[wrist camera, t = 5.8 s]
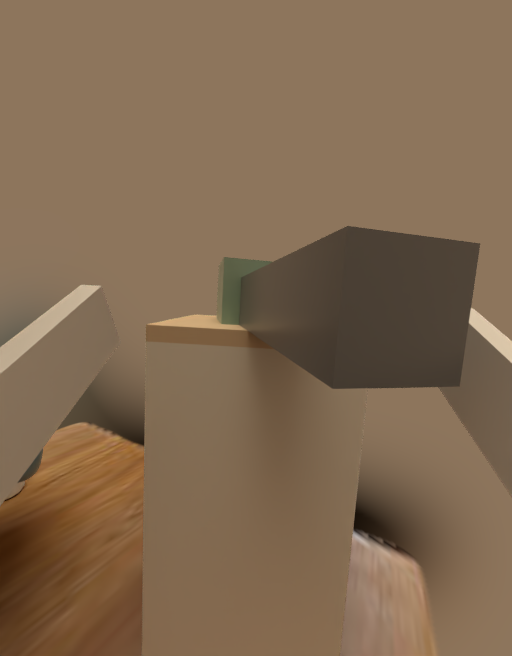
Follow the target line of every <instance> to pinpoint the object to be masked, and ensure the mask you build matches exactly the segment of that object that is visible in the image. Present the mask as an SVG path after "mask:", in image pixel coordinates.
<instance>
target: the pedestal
mask: <svg viewBox="0 0 512 656" xmlns="http://www.w3.org/2000/svg"><path fill="white" fill-rule="evenodd" d="M145 378H146V379H145V446H144V519H143V592H142V656H340V648H341V639H342V629H343V620H344V610H345V601H346V591H347V582H348V572H349V563H350V553H351V544H352V534H353V525H354V515H355V505H356V496H357V487H358V476H359V468H360V458H361V449H362V439H363V429H364V419H365V411H366V401H367V392H368V388H357V389H332V388H331V387H329V386H328V385H326V384H325V383H323V382H322V381H320V380H319V379H317V378H316V377H314V376H313V375H312V374H310V373H309V372H307V371H306V370H304V369H303V368H301V367H300V366H298V365H297V364H295V363H294V362H293V361H291V360H290V359H288V358H287V357H285V356H284V355H282V354H281V353H279V352H278V351H276V350H275V349H274V348H272V347H271V346H269V345H268V344H266V343H265V342H263V341H262V340H260V339H259V338H257V337H256V336H255V335H253V334H252V333H250V332H249V331H247V330H246V329H244V328H243V327H241V326H240V325H229V324H221V323H220V322H219V321H218V320H217V316H212V315H191V316H186V317H181V318H176V319H171V320H166V321H161V322H156V323H151V324H147V325H146V375H145Z"/></svg>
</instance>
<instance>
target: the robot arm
mask: <svg viewBox="0 0 512 656" xmlns="http://www.w3.org/2000/svg"><path fill="white" fill-rule="evenodd" d="M120 343H121V341H120V338H119V336H118V333H117V330H116V327H115V324H114V321H113V318H112V315H111V312H110V309H109V306H108V304H107V301H106V298H105V295H104V292H103V289H102V286H93V285H81V286H79V287H78V288H77V289H75V290H74V291H73V292H71V293H70V294H69V295H68V296H66V297H65V298H64V299H62V300H61V301H60V302H59V303H57V304H56V305H55V306H53V307H52V308H51V309H49V310H48V311H47V312H46V313H44V314H43V315H42V316H40V317H39V318H38V319H37V320H35V321H34V322H33V323H31V324H30V325H29V326H27V327H26V328H25V329H24V330H22V331H21V332H20V333H18V334H17V335H16V336H14V337H13V338H12V339H11V340H9V341H8V342H7V343H5V344H4V345H3V346H1V347H0V506H1V504H2V503H3V502H4V500H5V499H6V497H7V496H8V495H9V493H10V492H11V491H12V489H13V488H14V487H15V485H16V484H17V483H19V482H22V481H25V480H27V479H29V478H30V477H32V476H33V475H34V474H35V473H36V472H37V470H38V468H39V466H40V463H41V459H42V453H43V447H44V446H45V445H46V443H47V442H48V440H49V439H50V438H51V436H52V435H53V434H54V432H55V431H56V430H57V428H58V427H59V425H60V424H61V423H62V422H63V420H64V419H65V417H66V416H67V415H68V413H69V412H70V411H71V409H72V408H73V407H74V405H75V404H76V403H77V401H78V400H79V398H80V397H81V396H82V394H83V393H84V392H85V390H86V389H87V388H88V386H89V385H90V384H91V382H92V381H93V379H94V378H95V377H96V375H97V374H98V373H99V371H100V370H101V368H102V367H103V366H104V365H105V363H106V362H107V361H108V359H109V358H110V356H111V355H112V354H113V352H114V351H115V350H116V348H117V347H118V346H119V344H120ZM438 388H439V389H440V391H441V392H442V394H443V395H444V397H445V398H446V400H447V401H448V403H449V404H450V406H451V407H452V408H453V410H454V412H455V413H456V415H457V416H458V418H459V419H460V421H461V422H462V424H463V425H464V426H465V428H466V430H467V431H468V433H469V434H470V435H471V437H472V438H473V440H474V441H475V443H476V444H477V446H478V447H479V449H480V450H481V452H482V453H483V455H484V456H485V458H486V459H487V461H488V462H489V464H490V465H491V467H492V468H493V470H494V471H495V473H496V474H497V476H498V477H499V479H500V480H501V482H502V483H503V485H504V486H505V488H506V489H507V491H508V492H509V494H510V495H511V497H512V341H511V340H510V339H508V338H507V337H506V336H505V335H504V334H503V333H501V332H500V331H499V330H498V329H497V328H495V327H494V326H493V325H492V324H491V323H490V322H488V321H487V320H486V319H485V318H484V317H482V316H481V315H480V314H479V313H478V312H476V311H475V310H474V309H473V308H471V311H470V318H469V325H468V332H467V339H466V346H465V353H464V360H463V367H462V374H461V381H460V387H438Z"/></svg>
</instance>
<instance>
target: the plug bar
mask: <svg viewBox="0 0 512 656" xmlns="http://www.w3.org/2000/svg"><path fill="white" fill-rule="evenodd" d="M479 248H480V244H478V243H471V242H464V241H456V240H449V239H441V238H434V237H426V236H419V235H411V234H403V233H396V232H388V231H381V230H373V229H365V228H358V227H351V226H347V227H345V228H343V229H340V230H338V231H336V232H334V233H332V234H330V235H328V236H326V237H324V238H322V239H320V240H318V241H315V242H314V243H312V244H309V245H307V246H305V247H303V248H301V249H299V250H297V251H295V252H293V253H291V254H289V255H287V256H285V257H283V258H280V259H278V260H276V261H274V262H270V261H259V260H248V259H238V258H227V257H225V258H223V260H222V262H221V263H220V265H219V275H218V299H217V320H218V321H219V322H220V323H221V324H229V325H240V326H241V327H243V328H244V329H246V330H247V331H249V332H250V333H252V334H253V335H255V336H256V337H257V338H259V339H260V340H262V341H263V342H265V343H266V344H268V345H269V346H271V347H272V348H274V349H275V350H276V351H278V352H279V353H281V354H282V355H284V356H285V357H287V358H288V359H290V360H291V361H293V362H294V363H295V364H297V365H298V366H300V367H301V368H303V369H304V370H306V371H307V372H309V373H310V374H312V375H313V376H314V377H316V378H317V379H319V380H320V381H322V382H323V383H325V384H326V385H328V386H329V387H331V388H332V389H357V388H410V387H460V381H461V374H462V367H463V360H464V353H465V346H466V339H467V332H468V325H469V318H470V311H471V303H472V297H473V290H474V282H475V276H476V268H477V262H478V255H479Z"/></svg>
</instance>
